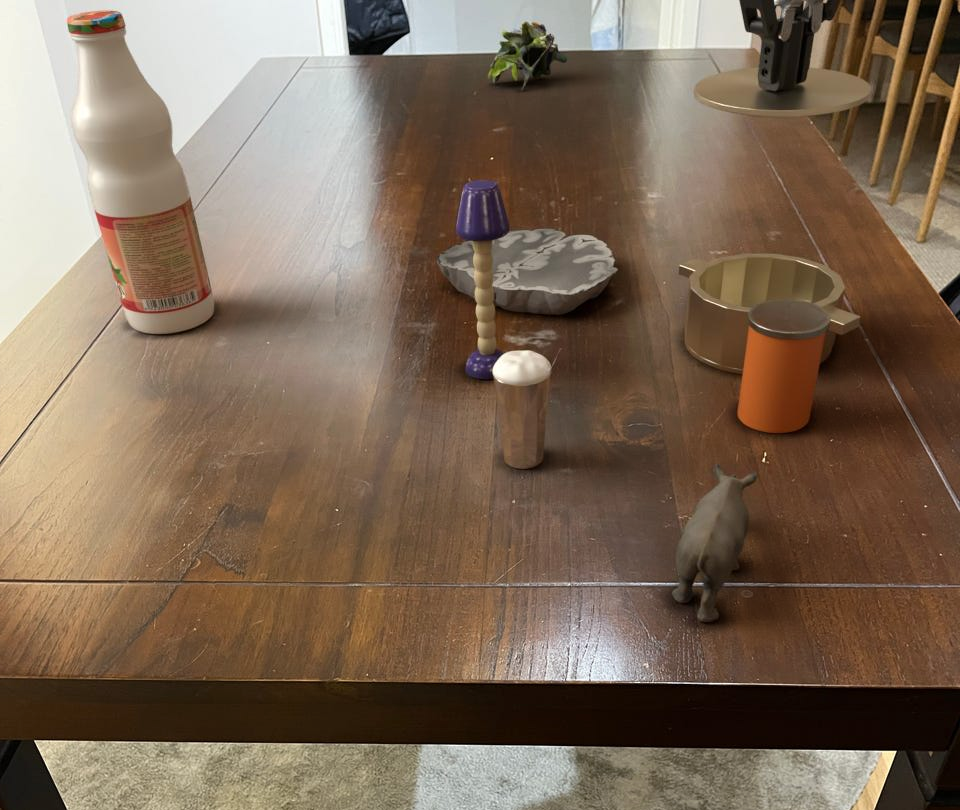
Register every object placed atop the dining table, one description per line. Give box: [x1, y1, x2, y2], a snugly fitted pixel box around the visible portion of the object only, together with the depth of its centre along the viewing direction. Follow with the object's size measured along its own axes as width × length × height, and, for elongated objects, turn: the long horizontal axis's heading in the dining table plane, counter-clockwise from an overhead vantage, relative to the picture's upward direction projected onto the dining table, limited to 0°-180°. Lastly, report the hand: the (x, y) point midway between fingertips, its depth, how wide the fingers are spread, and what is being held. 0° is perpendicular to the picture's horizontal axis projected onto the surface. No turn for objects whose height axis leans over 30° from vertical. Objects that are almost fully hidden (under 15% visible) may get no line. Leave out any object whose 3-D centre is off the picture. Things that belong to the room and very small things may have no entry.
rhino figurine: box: [671, 463, 758, 623], centre depth 70 cm, size 4×14×6 cm, turn 158°
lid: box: [693, 17, 872, 119], centre depth 86 cm, size 15×15×6 cm
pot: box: [678, 253, 861, 375], centre depth 95 cm, size 14×19×6 cm
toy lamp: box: [455, 179, 510, 380], centre depth 90 cm, size 5×5×17 cm
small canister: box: [736, 299, 831, 434], centre depth 84 cm, size 6×6×9 cm
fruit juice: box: [66, 9, 215, 335], centre depth 99 cm, size 9×9×28 cm
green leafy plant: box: [487, 21, 568, 92], centre depth 172 cm, size 11×11×12 cm
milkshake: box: [493, 348, 562, 470], centre depth 80 cm, size 4×5×10 cm
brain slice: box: [436, 227, 618, 316], centre depth 109 cm, size 20×17×3 cm
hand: (782, 84), depth 87 cm, fingers closed on lid, 2 cm apart
